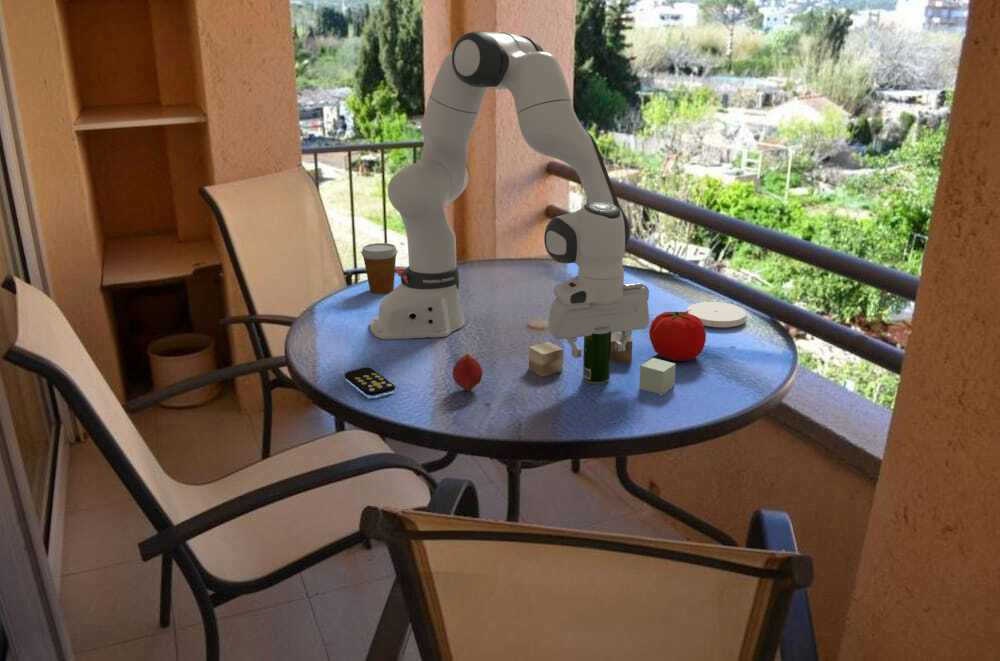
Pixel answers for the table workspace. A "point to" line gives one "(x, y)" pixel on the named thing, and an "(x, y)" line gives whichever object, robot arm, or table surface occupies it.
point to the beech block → (545, 358)
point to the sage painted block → (657, 375)
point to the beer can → (597, 356)
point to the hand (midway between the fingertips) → (598, 353)
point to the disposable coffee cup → (380, 266)
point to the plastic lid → (718, 314)
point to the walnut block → (623, 355)
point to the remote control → (369, 381)
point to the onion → (467, 372)
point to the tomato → (677, 335)
